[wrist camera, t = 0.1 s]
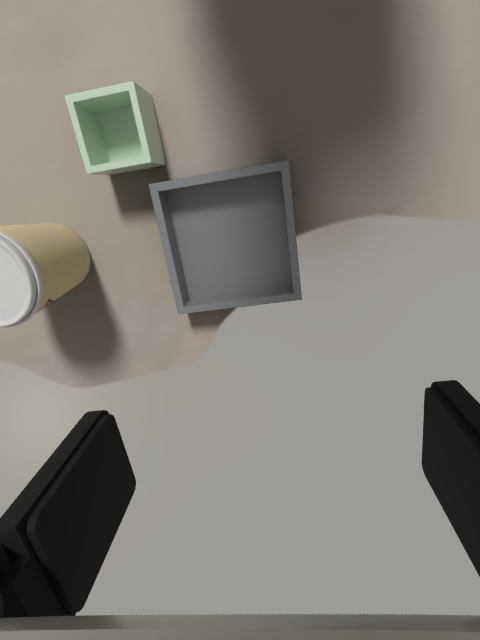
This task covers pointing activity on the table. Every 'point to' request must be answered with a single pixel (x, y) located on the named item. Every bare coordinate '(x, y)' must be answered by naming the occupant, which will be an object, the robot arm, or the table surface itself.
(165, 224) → the large crate
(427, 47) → the table surface
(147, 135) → the box
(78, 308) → the table surface
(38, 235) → the coffee cup
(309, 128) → the table surface
